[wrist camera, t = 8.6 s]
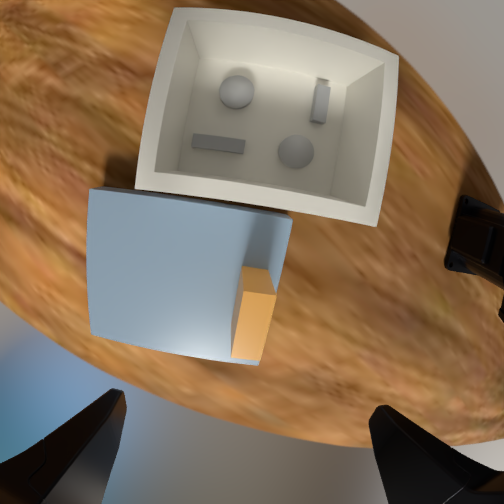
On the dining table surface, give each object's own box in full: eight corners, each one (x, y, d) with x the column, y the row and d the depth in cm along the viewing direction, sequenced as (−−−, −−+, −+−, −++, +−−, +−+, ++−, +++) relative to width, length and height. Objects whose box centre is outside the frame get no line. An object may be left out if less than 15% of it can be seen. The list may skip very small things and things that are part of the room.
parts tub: (354, 83, 16) (398, 55, 10) (334, 208, 18) (376, 226, 12) (191, 51, 15) (174, 7, 9) (166, 182, 17) (134, 188, 11)
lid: (286, 214, 18) (308, 233, 13) (256, 349, 21) (262, 400, 15) (103, 186, 17) (57, 195, 11) (101, 321, 19) (70, 362, 14)
